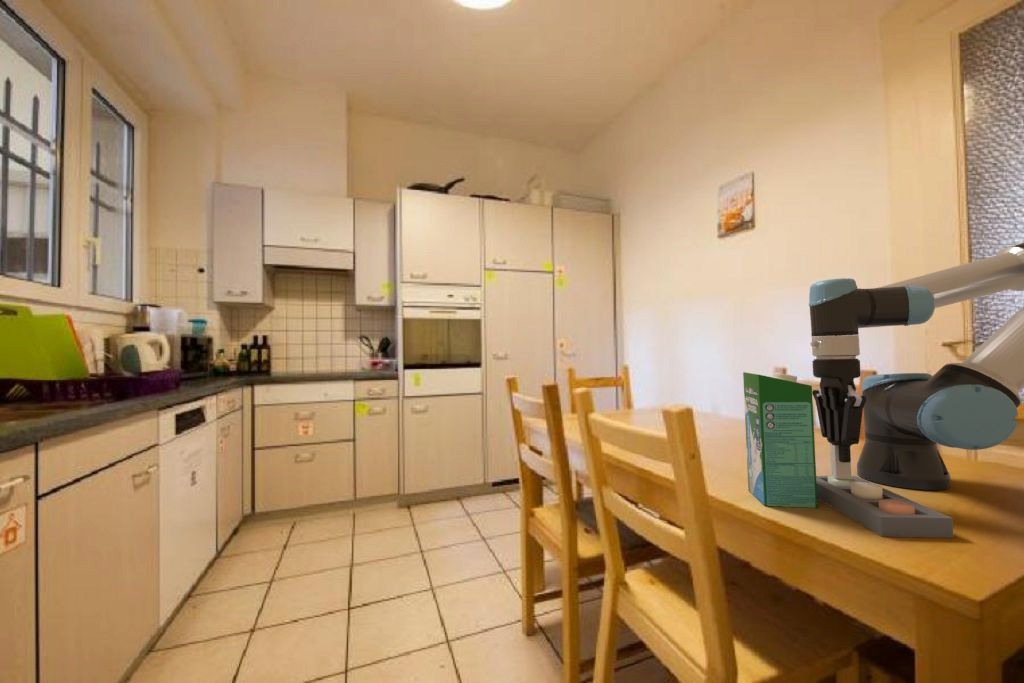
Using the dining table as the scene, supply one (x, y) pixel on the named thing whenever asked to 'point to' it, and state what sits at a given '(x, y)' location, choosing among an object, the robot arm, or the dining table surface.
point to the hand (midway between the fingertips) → (841, 477)
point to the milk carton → (780, 440)
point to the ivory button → (866, 490)
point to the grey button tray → (885, 513)
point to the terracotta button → (896, 507)
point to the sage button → (840, 481)
